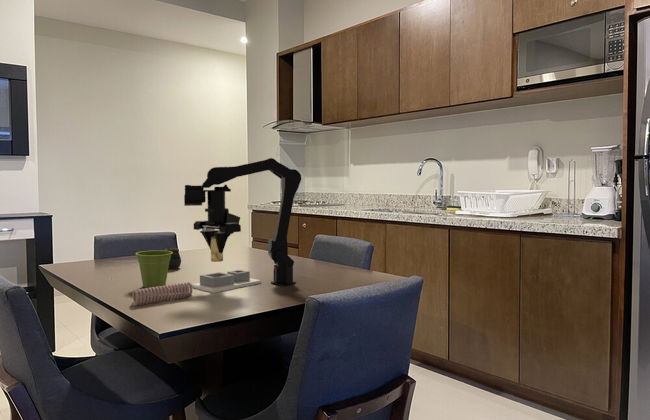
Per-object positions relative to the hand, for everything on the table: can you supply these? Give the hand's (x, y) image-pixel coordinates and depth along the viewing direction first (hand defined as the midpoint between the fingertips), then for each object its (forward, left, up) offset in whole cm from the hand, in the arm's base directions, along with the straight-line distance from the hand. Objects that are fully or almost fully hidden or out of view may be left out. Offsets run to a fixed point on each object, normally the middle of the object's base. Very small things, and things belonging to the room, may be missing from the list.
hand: (217, 252), depth 162 cm
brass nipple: (0, 0, -3) cm, 3 cm away
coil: (-4, +22, -12) cm, 25 cm away
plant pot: (+17, +13, -12) cm, 25 cm away
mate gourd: (+43, -9, -12) cm, 46 cm away
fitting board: (0, -4, -12) cm, 12 cm away
